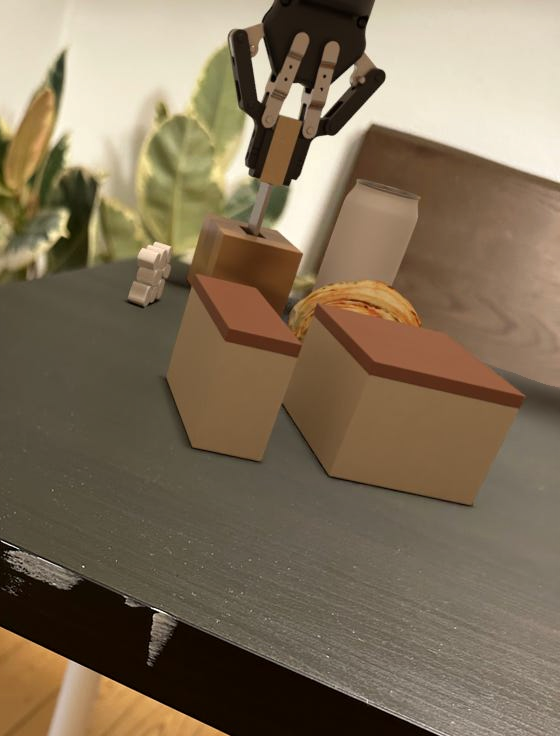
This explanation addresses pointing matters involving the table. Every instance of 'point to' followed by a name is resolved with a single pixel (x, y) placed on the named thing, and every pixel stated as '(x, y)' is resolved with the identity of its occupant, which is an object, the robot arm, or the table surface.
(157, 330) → the table surface
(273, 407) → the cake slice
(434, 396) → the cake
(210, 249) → the knife block
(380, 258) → the can
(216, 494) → the table surface
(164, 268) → the marshmallow
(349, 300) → the croissant
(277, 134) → the knife
